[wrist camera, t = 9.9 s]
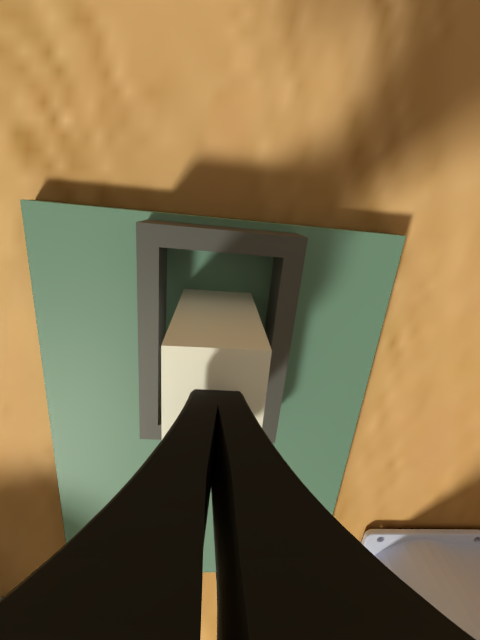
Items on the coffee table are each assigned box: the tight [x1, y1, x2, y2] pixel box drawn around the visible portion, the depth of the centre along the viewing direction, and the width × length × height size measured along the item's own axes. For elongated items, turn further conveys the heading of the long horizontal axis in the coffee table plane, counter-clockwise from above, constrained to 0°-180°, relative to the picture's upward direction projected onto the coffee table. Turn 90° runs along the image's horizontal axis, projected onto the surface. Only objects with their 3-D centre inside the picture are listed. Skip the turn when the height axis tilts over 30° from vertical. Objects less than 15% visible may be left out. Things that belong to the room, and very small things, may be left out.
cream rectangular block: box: [161, 289, 272, 439], centre depth 12 cm, size 3×5×6 cm, turn 175°
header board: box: [20, 200, 406, 572], centre depth 16 cm, size 16×22×3 cm
